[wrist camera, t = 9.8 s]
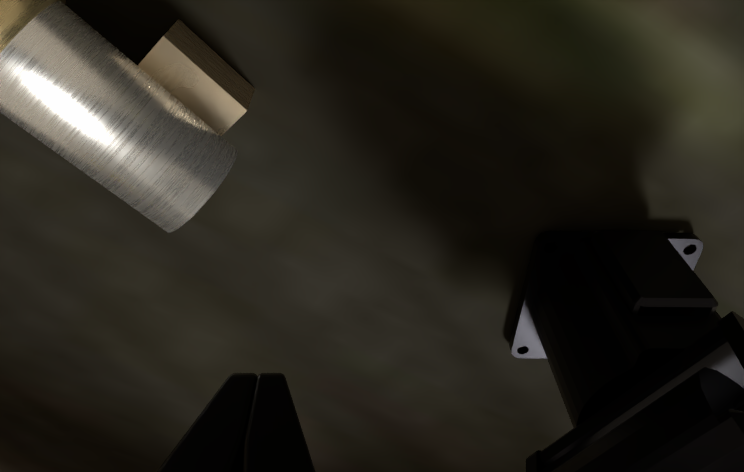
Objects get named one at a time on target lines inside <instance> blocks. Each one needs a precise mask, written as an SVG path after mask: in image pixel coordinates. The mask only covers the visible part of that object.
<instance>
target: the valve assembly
mask: <svg viewBox="0 0 744 472" xmlns="http://www.w3.org/2000/svg"><path fill="white" fill-rule="evenodd" d="M65 2H66V0H0V113H2V114H3V115H5V116H6V117H7V118H9V119H10V120H12V121H13V122H14V123H16V124H17V125H19V126H20V127H21V128H23V129H24V130H26V131H27V132H28V133H30V134H31V135H33V136H34V137H35V138H37V139H38V140H40V141H41V142H42V143H44V144H45V145H46V146H48V147H49V148H51V149H52V150H53V151H55V152H56V153H58V154H59V155H60V156H62V157H63V158H65V159H66V160H67V161H69V162H70V163H72V164H73V165H74V166H76V167H77V168H79V169H80V170H81V171H83V172H84V173H86V174H87V175H88V176H90V177H91V178H93V179H94V180H95V181H97V182H98V183H100V184H101V185H102V186H104V187H105V188H107V189H108V190H109V191H111V192H112V193H114V194H115V195H116V196H118V197H119V198H121V199H122V200H123V201H125V202H126V203H128V204H129V205H130V206H132V207H133V208H135V209H136V210H137V211H139V212H140V213H141V214H143V215H144V216H146V217H147V218H148V219H150V220H151V221H153V222H154V223H155V224H157V225H158V226H160V227H161V228H162V229H164V230H165V231H167V232H168V233H170V232H173V231H175V230H177V229H178V228H180V227H181V226H182V225H184V224H185V223H186V222H187V221H188V220H189V219H190V218H191V217H193V216H194V215H195V214H196V213H197V212H198V210H199V209H200V208H201V207H202V206H203V205H204V204H205V203H206V202H207V201H208V199H209V198H210V197H211V196H212V195H213V193H214V192H215V191H216V189H217V188H218V187H219V186H220V184H221V183H222V181H223V180H224V179H225V177H226V176H227V174H228V172H229V171H230V169H231V167H232V166H233V164H234V162H235V159H236V157H237V152H238V151H237V149H235V148H234V147H233V146H232V145H231V144H230V143H228V142H227V141H226V140H225V139H224V138H222V137H221V136H222V135H223V134H224V133H225V132H226V131H227V130H228V129H229V128H230V127H231V126H232V125H233V124H234V123H235V122H236V121H237V120H238V119H239V118H240V117H241V116H242V115H243V114H244V113H245V112H246V111H247V110H248V107H249V104H250V102H251V99H252V96H253V93H254V90H255V88H253V87H252V86H251V85H250V84H249V83H248V82H247V81H246V80H245V79H244V78H243V77H242V76H240V75H239V74H238V73H237V72H236V71H235V70H234V69H233V68H232V67H231V66H230V65H228V64H227V63H226V62H225V61H224V60H223V59H222V58H221V57H220V56H219V55H218V54H217V53H215V52H214V51H213V50H212V49H211V48H210V47H209V46H208V45H207V44H206V43H205V42H203V41H202V40H201V39H200V38H199V37H198V36H197V35H196V34H195V33H194V32H193V31H192V30H190V29H189V28H188V27H187V26H186V25H185V24H184V23H183V22H182V21H181V20H180V19H178V20H177V21H176V22H175V24H174V25H173V26H172V27H171V28H170V29H169V30H168V31H167V32H166V34H165V35H164V36H163V37H162V38H161V39H160V40H159V42H158V43H157V44H156V45H155V46H154V47H153V48H152V50H151V51H150V52H149V53H148V54H147V55H146V56H145V58H144V59H143V60H142V61H141V62H140V63H139V64H138V66H137V65H136V64H135V63H134V62H132V61H131V60H130V59H129V58H128V57H127V56H125V55H124V54H123V53H122V52H121V51H119V50H118V49H117V48H116V47H115V46H114V45H112V44H111V43H110V42H109V41H108V40H106V39H105V38H104V37H103V36H102V35H100V34H99V33H98V32H97V31H96V30H95V29H93V28H92V27H91V26H90V25H89V24H87V23H86V22H85V21H84V20H83V19H82V18H80V17H79V16H78V15H77V14H76V13H74V12H73V11H72V10H71V9H70V8H69V7H67V6H66V5H65Z"/></svg>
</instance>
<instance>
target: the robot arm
mask: <svg viewBox="0 0 744 472" xmlns="http://www.w3.org/2000/svg"><path fill="white" fill-rule="evenodd" d="M550 242H553V244H552V245H551V246H549V247H544V246H545V245H546V244H547V243H550ZM688 245H690V246H689V247H688V248H685V247H686V246H688ZM684 248H685V249H684ZM702 250H703V243H702V242H701V240H700V239H699V238H698V237H697V236H696V235H695V234H691V233H663V232H661V231H617V230H600V231H597V232H582V231H547V232H544V233H541V234H540V235H539V236H538V237H537V238H536V240H535V242H534V246H533V251H532V255H531V259H530V263H529V267H528V271H527V275H526V279H525V283H524V287H523V291H522V295H521V299H520V303H519V307H518V311H517V315H516V319H515V323H514V327H513V331H512V335H511V339H510V343H509V346H510V350H511V353H512V355H513V356H515V357H516V358H547V359H548V362H549V364H550V367H551V370H552V372H553V375H554V378H555V380H556V383H557V385H558V388H559V391H560V393H561V396H562V398H563V401H564V404H565V406H566V409H567V411H568V414H569V417H570V419H571V422H572V424H573V427H574V428H573V429H572V430H571V431H569V432H568V433H566V434H565V435H564V436H562V437H561V438H559V439H558V440H556V441H555V442H554V443H552V444H551V445H549V446H548V447H547V448H545V449H544V450H542V451H539V450H538V451H536V452H535V453H533V454H532V455H531V456H529V457H528V458H527V459H526V472H744V319H743V318H742V317H740V316H739V315H738V314H736V313H735V312H733V311H732V312H730V313H729V314H728V315H726V316H725V317H723V318H721V317H720V316H719V314H718V313H717V312H716V308H717V306H718V302H717V301H716V299H715V298H714V297H713V295H712V294H711V293H710V292H709V290H708V289H707V288H706V286H705V285H704V284H703V283H702V281H701V280H700V279H699V278H698V276H697V275H696V274H695V273H694V271H693V270H694V268H695V265H696V263H697V261H698V259H699V257H700V254H701V252H702ZM521 346H524V347H521ZM519 347H521V348H519ZM157 472H315V469H314V466H313V463H312V460H311V457H310V454H309V450H308V447H307V444H306V441H305V438H304V435H303V432H302V428H301V425H300V422H299V419H298V416H297V413H296V410H295V407H294V403H293V400H292V397H291V394H290V391H289V388H288V385H287V381H286V378H285V376H284V375H283V374H282V373H261V374H259V376H257V375H256V374H254V373H233V374H231V375H230V376H229V377H228V378H227V379H226V381H225V382H224V383H223V385H222V386H221V387H220V389H219V390H218V391H217V393H216V394H215V395H214V397H213V398H212V399H211V401H210V402H209V403H208V405H207V406H206V407H205V409H204V410H203V411H202V413H201V414H200V415H199V417H198V418H197V419H196V421H195V422H194V423H193V425H192V426H191V427H190V429H189V430H188V431H187V432H186V434H185V435H184V436H183V438H182V439H181V440H180V442H179V443H178V444H177V446H176V447H175V448H174V450H173V451H172V452H171V454H170V455H169V456H168V458H167V459H166V460H165V462H164V463H163V464H162V466H161V467H160V468H159V470H158V471H157Z"/></svg>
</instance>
